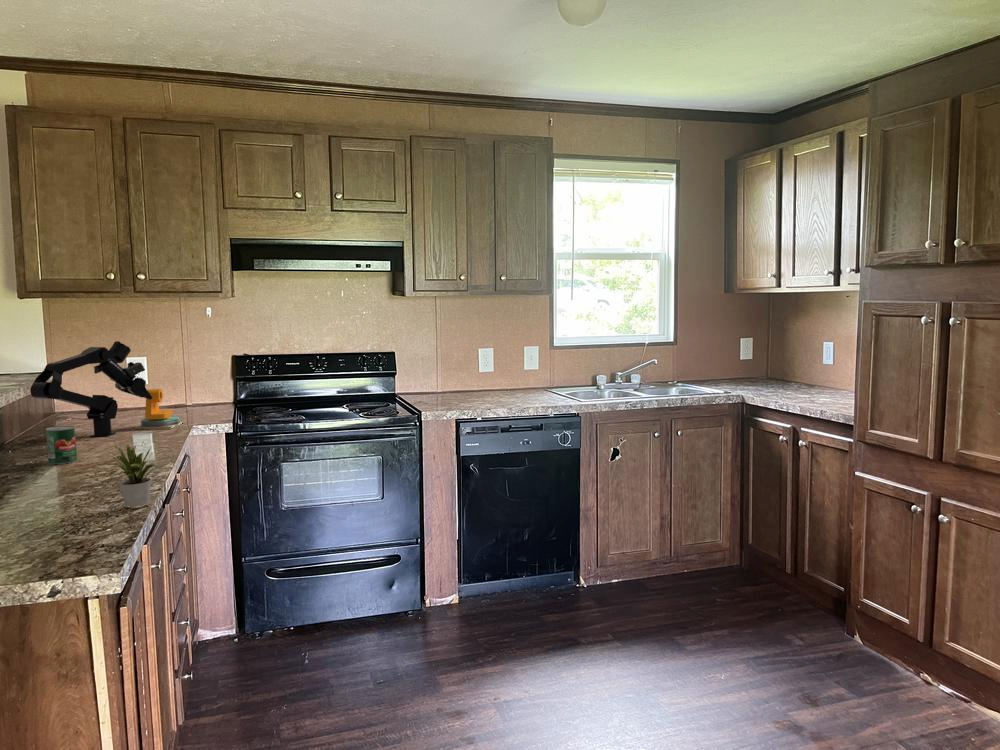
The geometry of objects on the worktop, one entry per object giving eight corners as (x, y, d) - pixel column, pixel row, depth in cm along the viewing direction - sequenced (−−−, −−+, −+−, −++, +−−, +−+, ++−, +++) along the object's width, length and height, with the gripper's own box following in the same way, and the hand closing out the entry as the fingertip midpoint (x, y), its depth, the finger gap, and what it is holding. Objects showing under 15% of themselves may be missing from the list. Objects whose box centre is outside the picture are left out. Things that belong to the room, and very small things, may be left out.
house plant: (85, 511, 181) (80, 444, 179) (132, 496, 194) (127, 434, 192) (130, 516, 176) (125, 448, 174) (175, 500, 189) (171, 437, 187)
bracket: (165, 420, 293) (163, 390, 291) (145, 421, 292) (143, 390, 291) (173, 416, 303) (171, 386, 302) (154, 417, 302) (152, 387, 301)
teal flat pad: (170, 429, 291) (170, 421, 291) (134, 429, 291) (134, 422, 291) (185, 422, 305) (185, 415, 304) (151, 423, 305) (150, 416, 304)
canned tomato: (58, 459, 240) (55, 425, 239) (82, 459, 240) (80, 425, 239) (42, 465, 232) (39, 430, 231) (67, 464, 232) (64, 429, 231)
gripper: (138, 357, 281) (170, 383, 290) (121, 354, 294) (152, 380, 303) (117, 380, 276) (150, 406, 285) (101, 376, 290) (133, 401, 299)
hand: (147, 397), depth 293 cm, fingers open, 9 cm apart
